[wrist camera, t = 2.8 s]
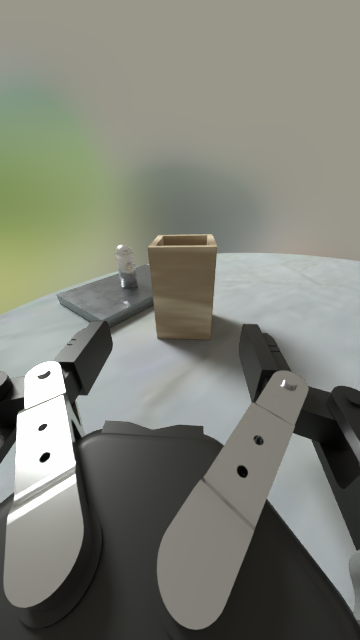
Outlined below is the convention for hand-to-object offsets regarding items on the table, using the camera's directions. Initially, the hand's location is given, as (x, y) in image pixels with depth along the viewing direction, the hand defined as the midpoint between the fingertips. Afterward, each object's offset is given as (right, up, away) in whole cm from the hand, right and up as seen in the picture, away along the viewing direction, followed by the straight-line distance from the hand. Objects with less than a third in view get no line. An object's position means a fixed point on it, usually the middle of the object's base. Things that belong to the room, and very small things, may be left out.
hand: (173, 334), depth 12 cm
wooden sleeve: (+1, 0, +13) cm, 13 cm away
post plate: (-8, +5, +21) cm, 23 cm away
